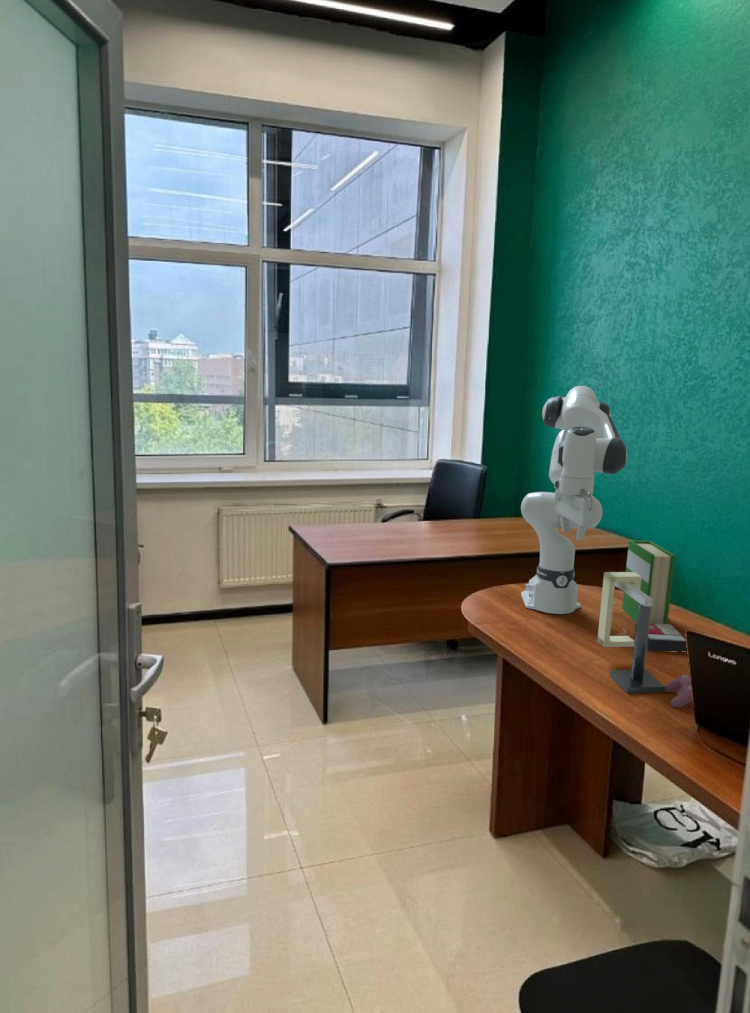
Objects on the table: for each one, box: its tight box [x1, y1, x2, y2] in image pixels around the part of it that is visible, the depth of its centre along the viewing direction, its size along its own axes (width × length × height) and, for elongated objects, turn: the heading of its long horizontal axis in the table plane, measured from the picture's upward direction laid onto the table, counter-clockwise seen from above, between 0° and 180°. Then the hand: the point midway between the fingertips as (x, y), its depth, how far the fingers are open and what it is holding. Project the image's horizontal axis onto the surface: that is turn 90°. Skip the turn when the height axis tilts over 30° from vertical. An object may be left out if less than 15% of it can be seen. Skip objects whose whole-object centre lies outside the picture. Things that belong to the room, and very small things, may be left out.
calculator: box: [634, 623, 688, 654], centre depth 208 cm, size 11×4×15 cm
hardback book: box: [621, 540, 676, 625], centre depth 224 cm, size 18×7×24 cm, turn 2°
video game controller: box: [664, 674, 693, 708], centre depth 172 cm, size 10×5×7 cm, turn 168°
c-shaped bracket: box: [597, 571, 642, 648], centre depth 191 cm, size 4×9×20 cm, turn 96°
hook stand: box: [609, 582, 666, 694], centre depth 186 cm, size 26×10×24 cm, turn 6°
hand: (572, 535), depth 195 cm, fingers open, 8 cm apart
